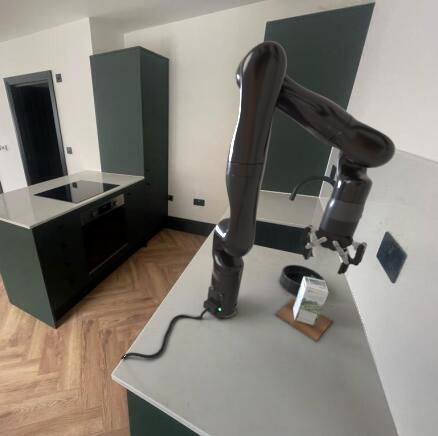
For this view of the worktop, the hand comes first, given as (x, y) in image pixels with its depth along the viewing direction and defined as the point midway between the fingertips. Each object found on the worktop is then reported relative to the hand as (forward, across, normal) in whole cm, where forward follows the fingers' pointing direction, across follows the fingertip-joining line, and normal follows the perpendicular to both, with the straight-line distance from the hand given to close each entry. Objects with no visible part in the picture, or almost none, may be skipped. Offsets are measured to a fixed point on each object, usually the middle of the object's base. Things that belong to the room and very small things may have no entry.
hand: (322, 265), depth 67 cm
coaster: (+21, 0, 0) cm, 21 cm away
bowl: (+21, -8, +15) cm, 27 cm away
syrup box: (+21, 0, 0) cm, 21 cm away
